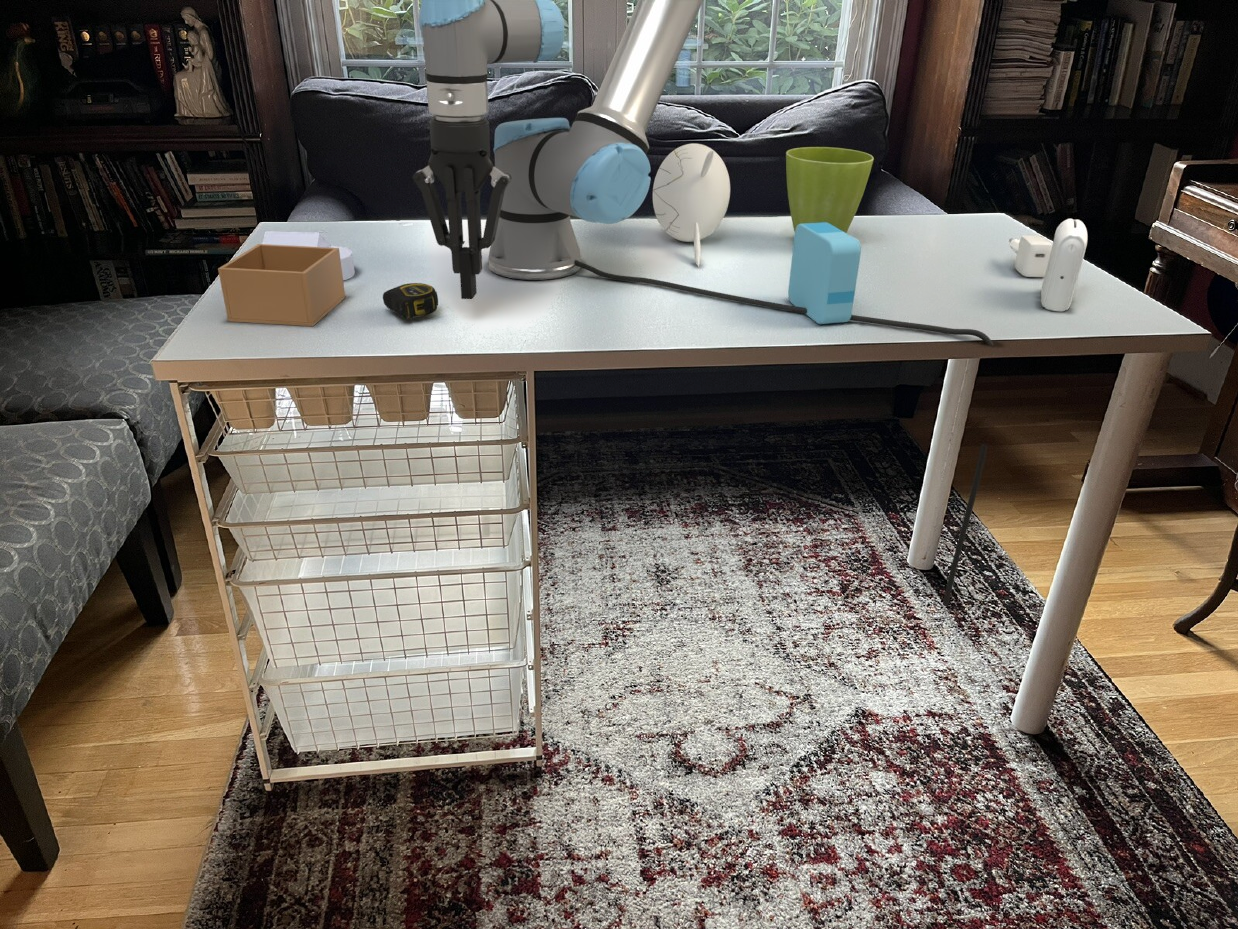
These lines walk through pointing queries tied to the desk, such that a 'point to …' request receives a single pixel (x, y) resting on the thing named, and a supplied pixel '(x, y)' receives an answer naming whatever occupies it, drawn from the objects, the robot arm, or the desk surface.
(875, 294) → the desk surface
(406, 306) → the tape measure
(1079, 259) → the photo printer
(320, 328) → the desk surface
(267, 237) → the wedge on round base
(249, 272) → the box
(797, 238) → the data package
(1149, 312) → the desk surface
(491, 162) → the robot arm
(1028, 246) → the power adapter
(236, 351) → the desk surface
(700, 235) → the cracked egg ornament
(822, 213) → the flower pot
